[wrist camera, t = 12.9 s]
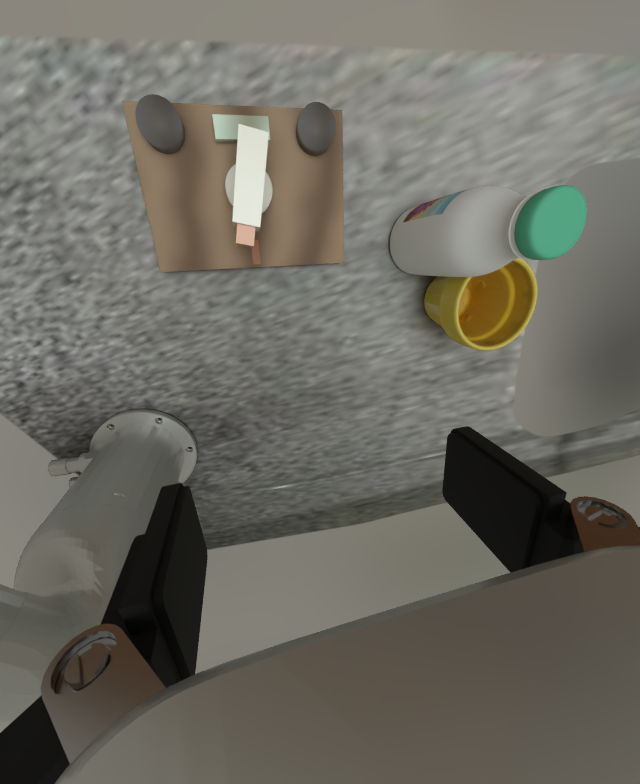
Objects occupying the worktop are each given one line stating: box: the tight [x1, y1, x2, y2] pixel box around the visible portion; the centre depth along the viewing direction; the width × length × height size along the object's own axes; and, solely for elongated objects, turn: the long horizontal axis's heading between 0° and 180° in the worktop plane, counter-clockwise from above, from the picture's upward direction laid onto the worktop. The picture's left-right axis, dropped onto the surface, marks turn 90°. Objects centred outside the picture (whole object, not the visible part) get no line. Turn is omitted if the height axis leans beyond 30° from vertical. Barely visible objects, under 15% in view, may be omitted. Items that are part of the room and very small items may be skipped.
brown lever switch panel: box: [122, 95, 344, 272], centre depth 32 cm, size 20×14×4 cm
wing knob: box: [225, 124, 272, 248], centre depth 29 cm, size 9×4×6 cm, turn 170°
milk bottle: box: [390, 185, 587, 277], centre depth 31 cm, size 8×8×20 cm
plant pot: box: [424, 258, 538, 351], centre depth 39 cm, size 10×10×10 cm
